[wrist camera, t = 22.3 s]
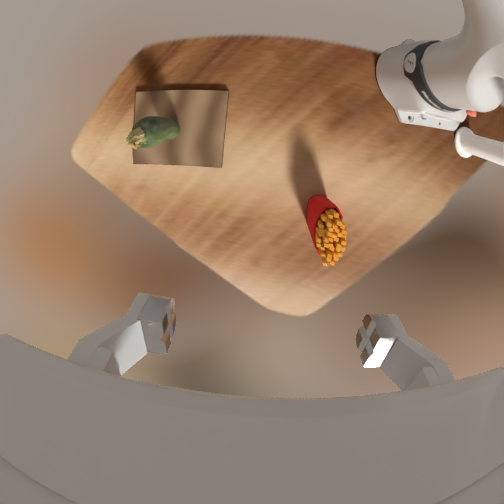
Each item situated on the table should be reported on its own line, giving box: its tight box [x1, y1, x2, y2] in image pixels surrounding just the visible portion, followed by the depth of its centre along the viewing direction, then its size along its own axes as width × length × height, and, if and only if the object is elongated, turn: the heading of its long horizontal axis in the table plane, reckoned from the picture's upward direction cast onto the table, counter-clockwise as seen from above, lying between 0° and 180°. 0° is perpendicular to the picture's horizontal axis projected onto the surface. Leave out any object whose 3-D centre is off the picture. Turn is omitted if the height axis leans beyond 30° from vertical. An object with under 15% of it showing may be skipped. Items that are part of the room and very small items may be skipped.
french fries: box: [307, 195, 347, 266], centre depth 46 cm, size 9×4×13 cm, turn 179°
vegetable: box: [126, 116, 180, 149], centre depth 34 cm, size 4×4×20 cm
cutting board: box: [133, 90, 229, 168], centre depth 44 cm, size 17×14×2 cm
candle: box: [454, 127, 504, 166], centre depth 31 cm, size 7×7×25 cm
